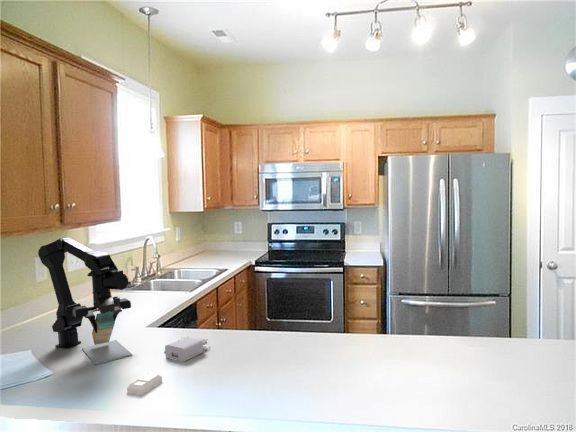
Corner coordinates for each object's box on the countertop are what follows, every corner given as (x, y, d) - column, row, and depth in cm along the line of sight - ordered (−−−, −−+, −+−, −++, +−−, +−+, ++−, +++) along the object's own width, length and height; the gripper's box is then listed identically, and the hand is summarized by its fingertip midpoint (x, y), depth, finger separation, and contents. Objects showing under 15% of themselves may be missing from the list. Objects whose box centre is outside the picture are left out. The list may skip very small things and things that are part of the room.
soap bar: (162, 382, 124) (161, 373, 124) (141, 396, 115) (141, 387, 115) (148, 380, 126) (148, 372, 125) (127, 394, 117) (126, 385, 117)
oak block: (91, 333, 157) (96, 313, 149) (105, 330, 160) (111, 311, 152) (94, 345, 154) (99, 325, 146) (108, 342, 157) (114, 323, 149)
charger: (215, 347, 151) (185, 362, 138) (196, 344, 156) (165, 358, 143) (214, 334, 150) (184, 348, 138) (195, 331, 155) (164, 344, 143)
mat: (82, 349, 155) (82, 347, 155) (116, 341, 162) (116, 340, 162) (95, 364, 139) (95, 363, 139) (132, 355, 146) (132, 354, 146)
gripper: (77, 296, 139) (80, 342, 140) (134, 287, 151) (137, 330, 151) (71, 291, 148) (73, 335, 149) (125, 283, 159) (127, 323, 160)
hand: (103, 331), depth 152 cm, fingers closed on oak block, 5 cm apart
